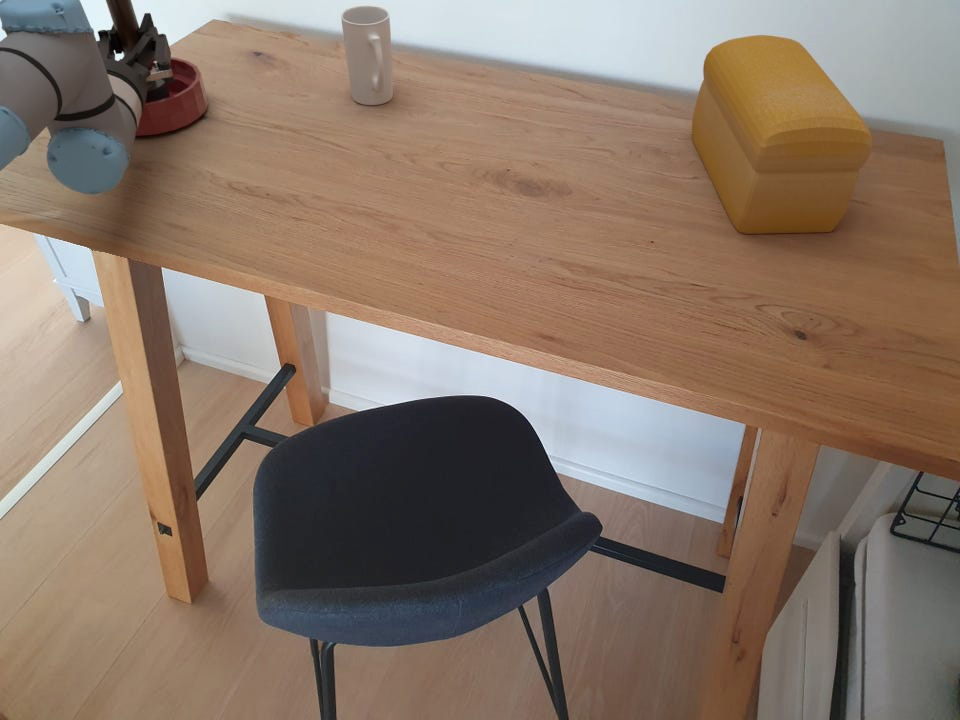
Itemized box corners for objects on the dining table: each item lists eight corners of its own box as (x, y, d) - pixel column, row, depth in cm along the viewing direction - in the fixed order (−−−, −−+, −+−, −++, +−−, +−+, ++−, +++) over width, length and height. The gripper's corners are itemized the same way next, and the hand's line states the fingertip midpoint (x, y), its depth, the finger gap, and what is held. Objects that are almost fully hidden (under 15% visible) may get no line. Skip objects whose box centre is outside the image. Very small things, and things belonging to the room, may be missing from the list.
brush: (127, 113, 108) (86, -6, 96) (133, 94, 112) (94, -22, 100) (168, 110, 108) (133, -8, 97) (173, 92, 112) (139, -24, 101)
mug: (345, 89, 117) (335, 9, 108) (387, 82, 119) (381, 2, 110) (362, 120, 110) (354, 36, 102) (407, 112, 112) (402, 29, 104)
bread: (840, 233, 92) (888, 117, 82) (735, 235, 92) (769, 119, 81) (775, 131, 109) (808, 25, 99) (686, 133, 109) (710, 26, 98)
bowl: (90, 143, 105) (76, 109, 101) (108, 92, 116) (97, 59, 112) (204, 135, 107) (195, 101, 103) (212, 85, 117) (204, 53, 114)
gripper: (49, 136, 93) (86, 53, 109) (186, 125, 95) (202, 46, 111) (24, 76, 88) (66, -1, 104) (169, 66, 89) (188, -8, 106)
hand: (136, 23), depth 107 cm, fingers closed on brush, 3 cm apart
